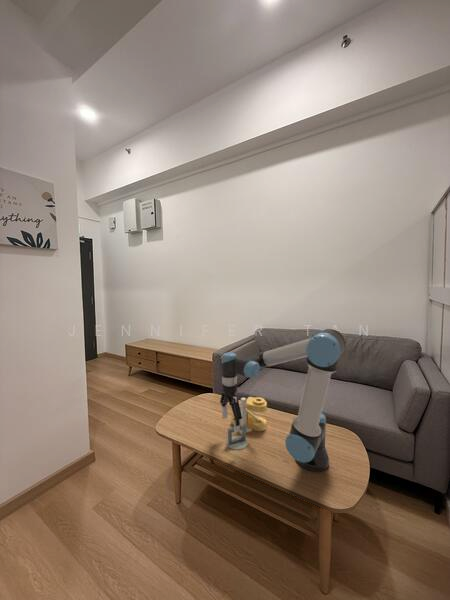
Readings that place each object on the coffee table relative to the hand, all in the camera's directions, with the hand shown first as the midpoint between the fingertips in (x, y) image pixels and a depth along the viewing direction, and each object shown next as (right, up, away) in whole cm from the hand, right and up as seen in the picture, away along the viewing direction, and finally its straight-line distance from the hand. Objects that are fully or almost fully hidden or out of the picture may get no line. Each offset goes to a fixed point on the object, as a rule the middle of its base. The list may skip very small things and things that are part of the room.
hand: (230, 424), depth 126 cm
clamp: (+12, -10, +20) cm, 25 cm away
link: (+3, -11, +3) cm, 11 cm away
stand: (+10, -11, +9) cm, 17 cm away
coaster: (+3, -11, +3) cm, 12 cm away
